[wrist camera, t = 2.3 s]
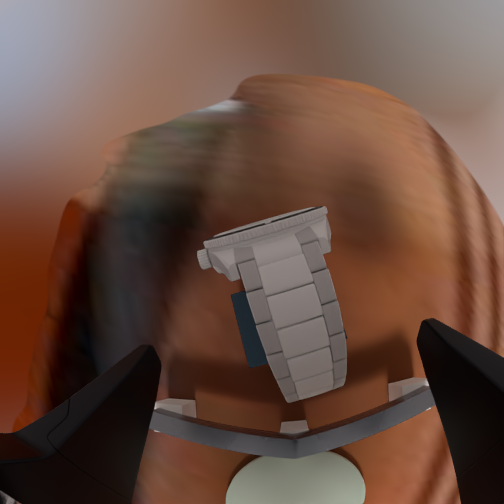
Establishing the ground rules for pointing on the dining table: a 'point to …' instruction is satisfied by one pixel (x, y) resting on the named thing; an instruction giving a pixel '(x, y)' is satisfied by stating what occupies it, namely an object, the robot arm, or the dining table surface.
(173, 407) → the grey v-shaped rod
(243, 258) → the watch
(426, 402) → the grey bent bar
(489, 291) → the dining table surface
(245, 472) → the mat
